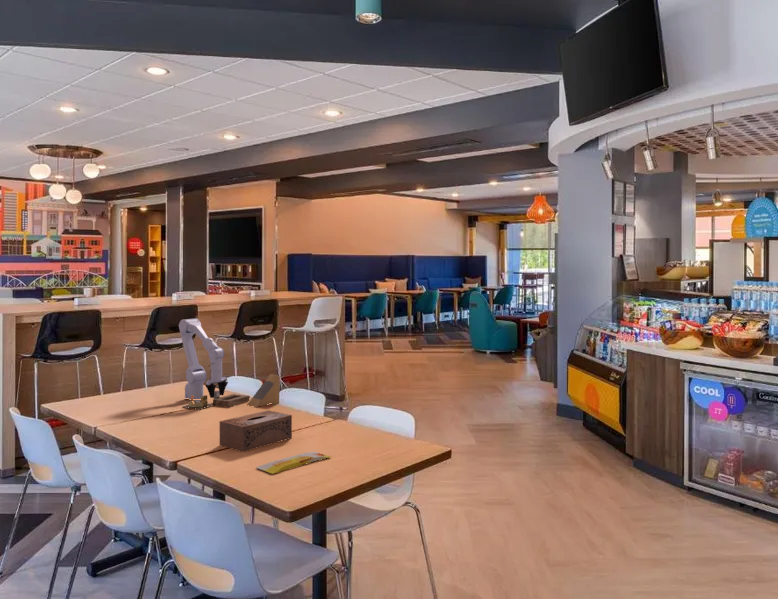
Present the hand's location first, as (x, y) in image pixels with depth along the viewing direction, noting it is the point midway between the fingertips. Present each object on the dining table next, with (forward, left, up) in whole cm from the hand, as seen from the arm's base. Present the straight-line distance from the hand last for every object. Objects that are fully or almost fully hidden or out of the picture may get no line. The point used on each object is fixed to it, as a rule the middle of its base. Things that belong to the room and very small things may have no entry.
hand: (216, 396), depth 329 cm
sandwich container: (+24, +8, -4) cm, 25 cm away
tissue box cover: (+64, -53, -4) cm, 84 cm away
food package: (+94, -71, -4) cm, 118 cm away
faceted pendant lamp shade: (-2, -11, -2) cm, 12 cm away
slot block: (+8, +2, -3) cm, 9 cm away
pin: (0, 0, -3) cm, 3 cm away
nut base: (-2, -12, -3) cm, 13 cm away
